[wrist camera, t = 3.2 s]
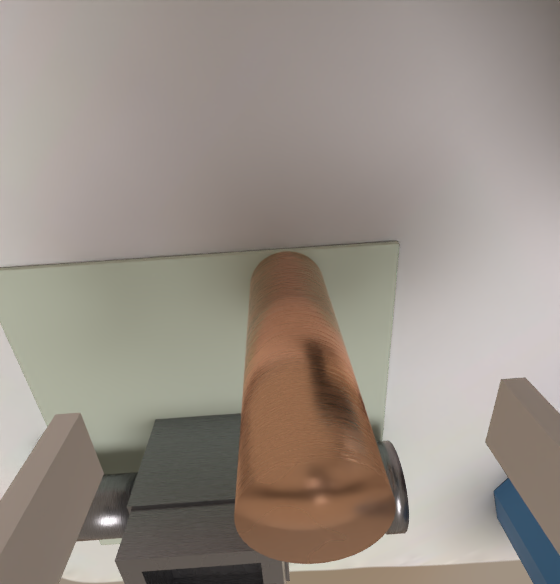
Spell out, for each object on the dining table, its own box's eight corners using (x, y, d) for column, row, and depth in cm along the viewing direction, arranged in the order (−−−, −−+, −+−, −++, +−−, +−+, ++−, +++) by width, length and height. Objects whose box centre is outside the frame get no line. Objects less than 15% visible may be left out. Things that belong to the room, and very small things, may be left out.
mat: (-18, 269, 21) (-23, 272, 20) (397, 241, 21) (399, 243, 20) (102, 540, 31) (101, 545, 31) (373, 520, 32) (374, 525, 31)
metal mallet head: (47, 426, 25) (-46, 570, 18) (385, 403, 25) (437, 534, 18) (93, 528, 30) (36, 674, 23) (376, 507, 30) (413, 645, 23)
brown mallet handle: (246, 254, 20) (224, 468, 9) (323, 248, 20) (402, 455, 9) (253, 319, 22) (242, 568, 11) (323, 314, 22) (389, 558, 11)
